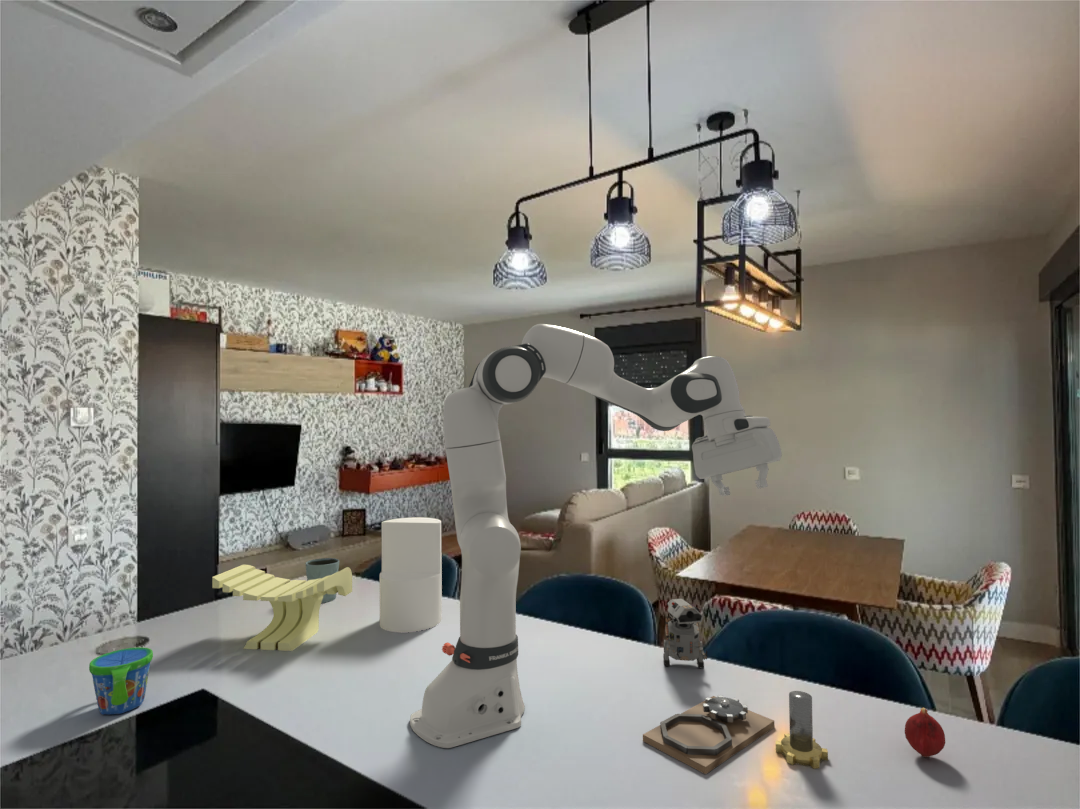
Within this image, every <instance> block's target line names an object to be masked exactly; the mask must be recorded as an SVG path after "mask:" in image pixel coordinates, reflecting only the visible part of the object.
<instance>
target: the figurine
mask: <svg viewBox="0 0 1080 809" xmlns="http://www.w3.org/2000/svg"><path fill="white" fill-rule="evenodd" d="M667 606H668V609H667V612H668V615H669V616H667V617H665V620H664V621H665V627H664V632H665V638H666V639H663V655H662V657H663V664H664V666H666V667H670V666H671V664H670V663H671V660H670V658H672V659H673V660H675V661H685V662H686V661H687V662H690V661H692V662H693V661H695V660H696V661H697V666H698V668H699V669H704V668H705V662H704V661H705V660H707V659H708V657H709V656H708V651H707V649H706V650H705V651H704V648H703V641H701V640H700V627H699V624H700V623H702V622H703V618H704V615H703V614H702V613H701V612H700V609H699V608H698V607H697V606H692V604H690V603H689V602H687V601H686V600H685V599H683V598H682V597H681V598H672V599H669V601H668V602H667Z"/></svg>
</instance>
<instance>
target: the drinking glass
mask: <svg viewBox="0 0 1080 809" xmlns="http://www.w3.org/2000/svg"><path fill="white" fill-rule="evenodd" d="M339 568H340V559H338V558H331V557H322V558H314V559H311V560H308V561H306V562H305V574H306V579H307V580H306V581H308V580H314V579H319V578H321V579H322V578H324V577H326V576H329V575H332V574H334V573H336V572H339ZM336 599H337V593H336V594H325V595H323V599H322V602H321V604H324V603H329V602H332V601H334V600H336Z"/></svg>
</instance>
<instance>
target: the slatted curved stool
mask: <svg viewBox="0 0 1080 809" xmlns="http://www.w3.org/2000/svg"><path fill="white" fill-rule="evenodd" d="M211 580H212V582H211V583H212V586H211V587H212V589H222V593H232V597H242V599H243V600H242V601H256V602H257V601H259V600H260V602H269V603H270V605H271V607H272V611H273V617H272V620H271V621H270V622H269V624H268V625H267V626H266V627H265V628H263V630H261V631H260V632H258V633H257V634H256V635H255V636H253V637H251V638H250V639H249V640H247V641H246V643H245V645H244V647H243V648H242V649H243V650H259V649H260V650H262V651H263V650H265V651H276V650H277V651H286V652H293V651H294V650H296V649H297V648H298V647H300V646H301V645H302V644H304V643H305V642H306V641H308V640H309V639H311V638H312V637H314V636H315V635H317V633H318V632H319V628H320V615H319V614H320V609H321V605H322V603H321V602H322V599H323V595H325V594H336V595H339V596H342V597H346V596H348V595H350V594H351V593H353V573H352V570H351V568H350V567H348V566H347V567H345V568H343V569H341V570H338V572H336V573H334V574H332V575H329V576H326V577H324V578H322V579H321V578H319V579H314V580H308V581H307V580H306V579H300V580H299V579H292V580H291V579H289V578H284V577H277V576H275V575H274V574H271V573H266V571H265V570H261V569H259V568H256V566H253V565H251V564H241V565H239V566H236V567H234V568H231V569H229V570H226V571H224V572H222V573H219V574H216V575H214V576H212V579H211ZM337 593H338V594H337Z"/></svg>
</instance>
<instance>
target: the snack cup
mask: <svg viewBox="0 0 1080 809" xmlns="http://www.w3.org/2000/svg"><path fill="white" fill-rule="evenodd" d="M153 652H154V651H153V650H152V648H148V647H142V646H141V647H139V646H138V647H128V648H122V649H117V650H113V651H110V652H106V653H104V654H101V655H99V656H97V657H95V658H94V659H92V660H91V661H90V662H89V667H88V668H89V673H90V674H91V676H92V683H93V686H94V693H95V694H94V695H95V696H96V697H95V699H96V704H97V708H98V711H99V713H100V714H101V715H121V714H123V713H126V712H130V711H132V710H134V709H136V708H138V707H140V706H141V705H142V704H143V702H144V701H145V697H146V692H147V687H148V686H147V684H148V679H149V674H150V666H151V663H152V661H153V659H154V653H153Z"/></svg>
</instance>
